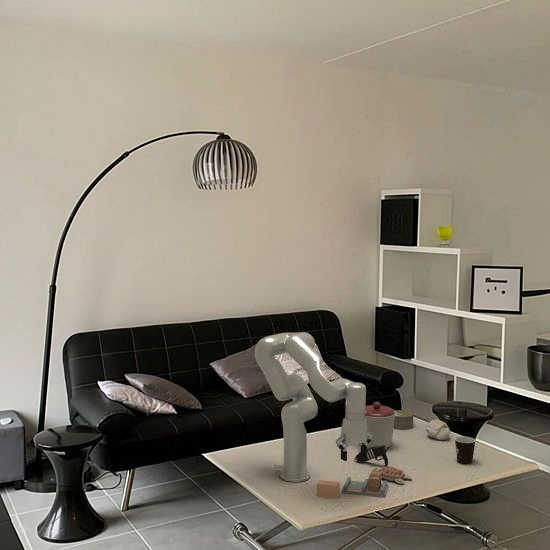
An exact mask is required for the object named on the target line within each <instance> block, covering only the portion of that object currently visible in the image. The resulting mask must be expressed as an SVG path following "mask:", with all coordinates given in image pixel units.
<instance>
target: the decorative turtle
mask: <svg viewBox="0 0 550 550" xmlns="http://www.w3.org/2000/svg"><path fill="white" fill-rule="evenodd" d="M372 471H374V472H381V484H383V481H384V480H385V481H392V482H396V483H397V484H401V485H402V484H405V483H406V481H405V480H404V479H405V478H406V479H409V480H412V479H413V477H412V476H409V475H407V474H405V473H404V471H405V470H404V469H400V468H396V467H394V466H390V465H389V466H387V467H385V466H382V467H380V468H379V467H373V469H372ZM382 479H384V480H382Z"/></svg>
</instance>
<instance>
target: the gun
mask: <svg viewBox="0 0 550 550" xmlns="http://www.w3.org/2000/svg"><path fill="white" fill-rule="evenodd" d="M387 453H388V448H386V446H385V445H382V446H373V447H368V448H367V457H364V456H362V455H361V454H360V451H359V452H358V453H357V454H356V455H355V456H354V458H353V460H354V461H356V462H357V464H362V463H366V462H368V461H371V460H373V459H374V460H376V462H377V461H378V462H379V461H382V460H383V461H384V467H387V466H388V465H389V458H388V456H387Z"/></svg>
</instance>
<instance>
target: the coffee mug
mask: <svg viewBox="0 0 550 550" xmlns="http://www.w3.org/2000/svg"><path fill="white" fill-rule="evenodd" d="M454 443H455V452H456V453H455V454H456V463H458V464H460V465H465V466H466V465H471V464H473V461H474V460H473V459H474V453H475V448H476V447H475V445H476V439H475V438H473V437H469V436H457V437H455V438H454Z"/></svg>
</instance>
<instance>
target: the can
mask: <svg viewBox="0 0 550 550" xmlns="http://www.w3.org/2000/svg"><path fill="white" fill-rule="evenodd" d="M395 411H396V412H397V414H396V415H395V420H394V429H393V430H397V431H407V430H408V431H409V429H410V430H413V428H414V415H415V414H414V413H413V412H412V411H409V410H403V409H402V410H400V409H399V410H397V409H396V410H395Z"/></svg>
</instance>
